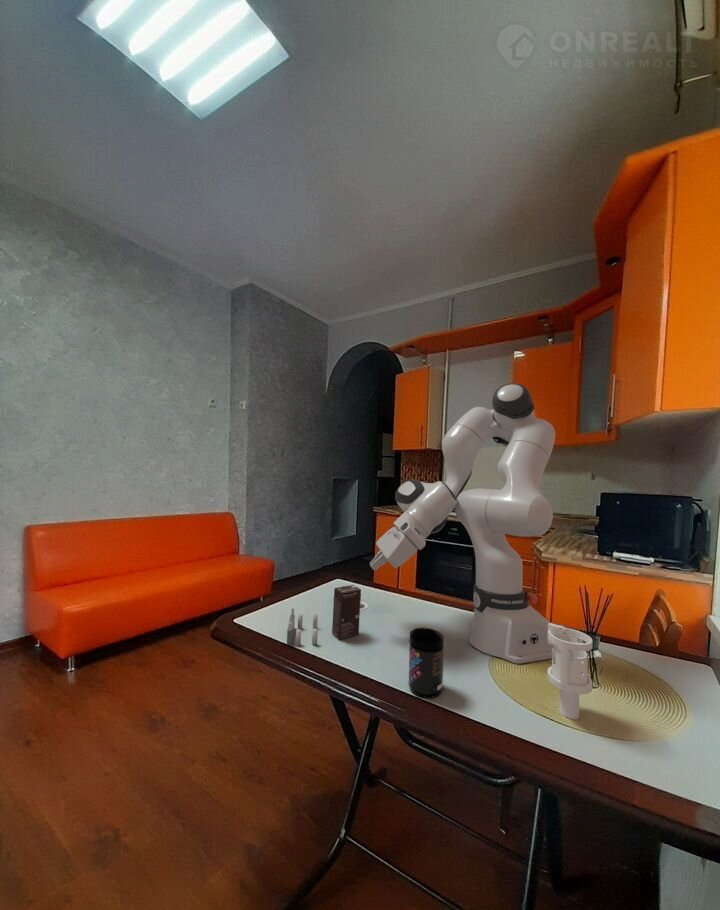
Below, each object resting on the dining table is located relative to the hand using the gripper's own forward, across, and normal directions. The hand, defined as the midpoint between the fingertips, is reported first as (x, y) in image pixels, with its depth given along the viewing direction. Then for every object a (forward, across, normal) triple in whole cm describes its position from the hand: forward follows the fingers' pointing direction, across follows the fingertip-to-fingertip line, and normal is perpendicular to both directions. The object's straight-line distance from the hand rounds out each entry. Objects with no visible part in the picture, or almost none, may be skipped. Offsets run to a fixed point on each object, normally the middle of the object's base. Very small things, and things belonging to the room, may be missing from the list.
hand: (371, 567), depth 95 cm
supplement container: (+7, +24, +18) cm, 31 cm away
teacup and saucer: (+13, -23, +12) cm, 29 cm away
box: (+17, +1, +8) cm, 19 cm away
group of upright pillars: (+25, +1, 0) cm, 25 cm away
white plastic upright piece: (-10, +33, +35) cm, 49 cm away
